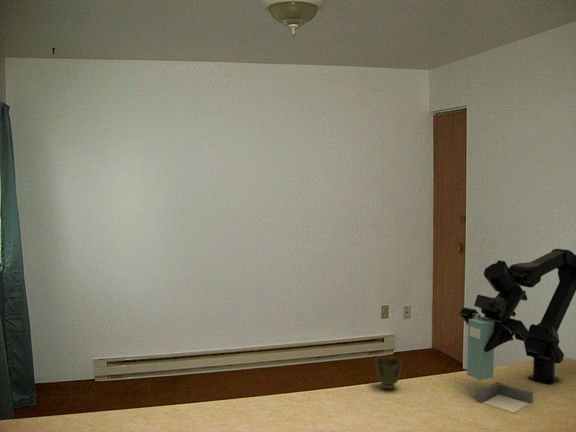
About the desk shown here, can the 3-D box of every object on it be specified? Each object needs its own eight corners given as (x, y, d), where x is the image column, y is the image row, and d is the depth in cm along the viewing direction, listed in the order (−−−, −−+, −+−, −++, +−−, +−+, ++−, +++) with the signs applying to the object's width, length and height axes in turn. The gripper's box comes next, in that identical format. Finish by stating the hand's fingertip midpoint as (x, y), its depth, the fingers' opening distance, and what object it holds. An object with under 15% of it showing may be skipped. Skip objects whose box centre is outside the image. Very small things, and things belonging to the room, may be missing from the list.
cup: (400, 383, 152) (400, 356, 152) (402, 393, 145) (403, 364, 144) (373, 382, 153) (373, 355, 152) (375, 392, 145) (375, 363, 145)
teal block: (478, 371, 146) (480, 317, 145) (493, 377, 142) (494, 321, 141) (466, 375, 143) (468, 319, 142) (480, 380, 139) (482, 323, 138)
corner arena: (496, 391, 147) (496, 382, 147) (533, 401, 140) (533, 392, 140) (476, 401, 140) (477, 392, 140) (514, 413, 133) (514, 403, 133)
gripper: (464, 278, 151) (435, 322, 146) (523, 289, 135) (493, 339, 130) (482, 303, 155) (455, 346, 150) (541, 316, 139) (513, 365, 134)
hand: (477, 348), depth 141 cm, fingers closed on teal block, 5 cm apart
